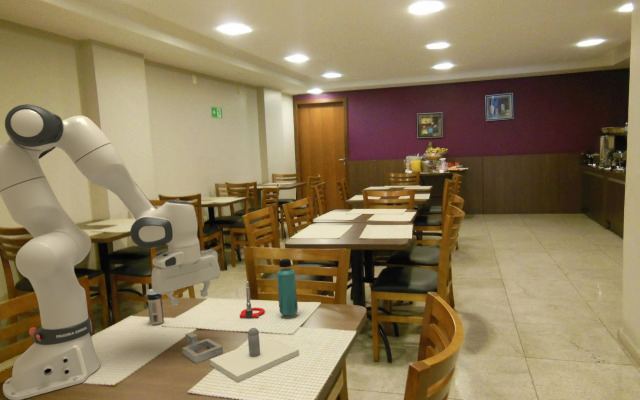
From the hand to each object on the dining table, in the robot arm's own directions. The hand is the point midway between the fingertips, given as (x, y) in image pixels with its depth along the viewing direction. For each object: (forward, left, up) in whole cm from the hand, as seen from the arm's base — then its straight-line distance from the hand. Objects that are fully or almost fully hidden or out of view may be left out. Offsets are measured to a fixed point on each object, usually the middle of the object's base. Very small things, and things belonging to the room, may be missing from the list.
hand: (189, 300), depth 133 cm
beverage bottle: (+35, -2, -15) cm, 38 cm away
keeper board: (+8, -21, -15) cm, 27 cm away
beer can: (+1, +29, -15) cm, 32 cm away
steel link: (0, -4, -14) cm, 15 cm away
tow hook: (+28, +10, -15) cm, 33 cm away
